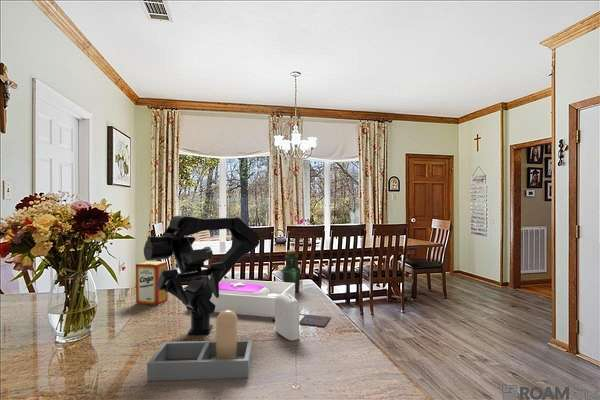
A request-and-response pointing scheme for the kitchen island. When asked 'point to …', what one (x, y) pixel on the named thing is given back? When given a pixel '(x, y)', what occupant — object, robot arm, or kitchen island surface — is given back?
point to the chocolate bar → (312, 320)
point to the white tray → (250, 296)
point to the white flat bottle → (287, 316)
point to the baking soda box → (149, 283)
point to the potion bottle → (292, 270)
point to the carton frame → (198, 361)
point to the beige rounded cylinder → (226, 335)
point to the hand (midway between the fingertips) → (203, 300)
